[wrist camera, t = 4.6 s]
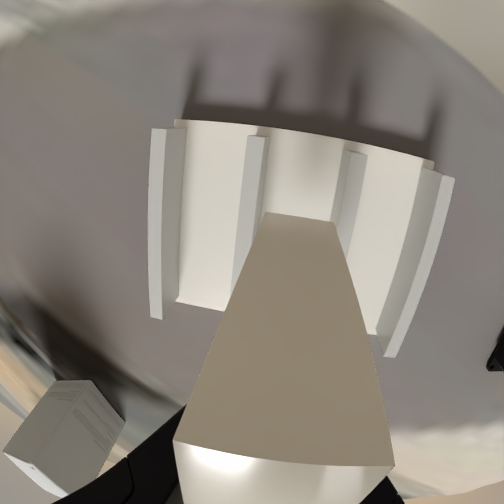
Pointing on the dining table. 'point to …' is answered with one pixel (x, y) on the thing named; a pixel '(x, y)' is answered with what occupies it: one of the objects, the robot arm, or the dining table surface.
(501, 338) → the robot arm
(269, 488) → the cream rectangular tile
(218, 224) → the rack
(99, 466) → the supplement box
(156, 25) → the dining table surface
